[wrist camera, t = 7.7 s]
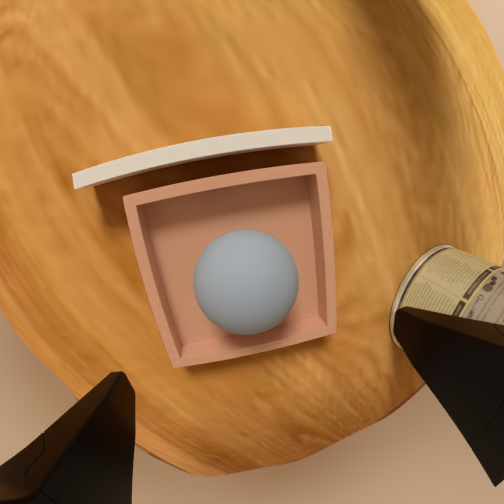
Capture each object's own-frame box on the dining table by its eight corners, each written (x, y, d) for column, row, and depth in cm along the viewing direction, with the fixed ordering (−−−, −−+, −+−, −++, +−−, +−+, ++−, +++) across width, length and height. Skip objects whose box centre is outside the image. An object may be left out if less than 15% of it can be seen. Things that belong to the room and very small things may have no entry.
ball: (276, 214, 15) (310, 232, 10) (286, 295, 16) (317, 340, 12) (185, 231, 14) (178, 258, 10) (204, 313, 16) (208, 366, 11)
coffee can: (476, 271, 20) (577, 327, 7) (425, 358, 22) (509, 440, 9) (432, 219, 18) (588, 278, 4) (366, 333, 19) (482, 461, 6)
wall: (312, 132, 15) (330, 125, 12) (314, 145, 15) (332, 141, 12) (91, 173, 13) (72, 173, 11) (93, 186, 13) (74, 189, 11)
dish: (310, 162, 15) (325, 161, 13) (323, 317, 18) (336, 332, 16) (133, 193, 14) (122, 196, 12) (176, 348, 17) (173, 367, 15)
